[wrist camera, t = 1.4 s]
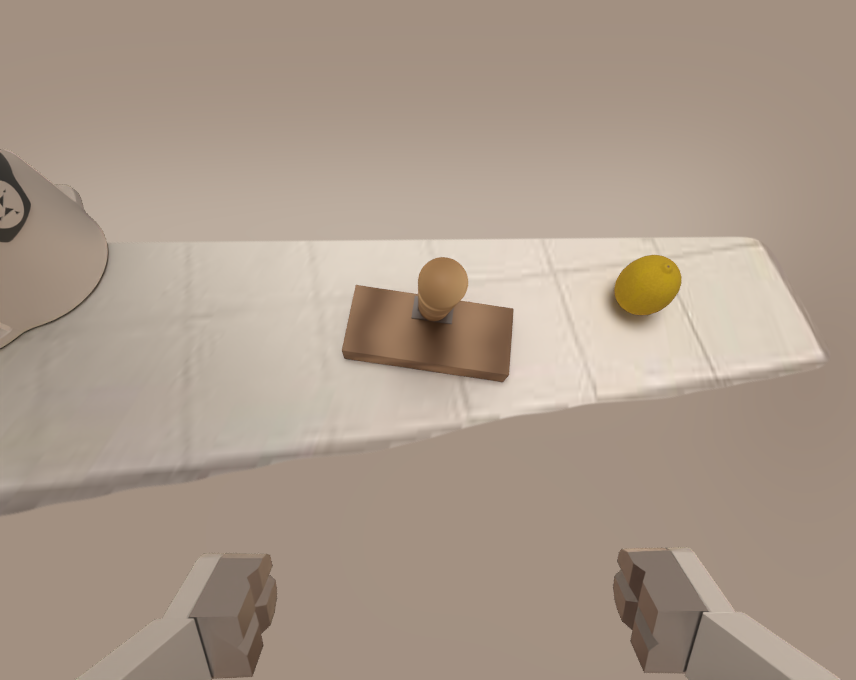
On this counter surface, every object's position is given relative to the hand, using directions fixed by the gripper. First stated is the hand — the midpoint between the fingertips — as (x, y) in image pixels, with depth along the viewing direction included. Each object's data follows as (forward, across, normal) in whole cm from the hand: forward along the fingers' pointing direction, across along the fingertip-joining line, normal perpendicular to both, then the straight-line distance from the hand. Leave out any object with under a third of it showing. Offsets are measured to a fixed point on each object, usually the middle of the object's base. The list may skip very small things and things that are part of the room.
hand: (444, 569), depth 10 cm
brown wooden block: (+35, 0, +8) cm, 36 cm away
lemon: (+39, -21, +6) cm, 45 cm away
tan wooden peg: (+34, 0, +4) cm, 34 cm away
